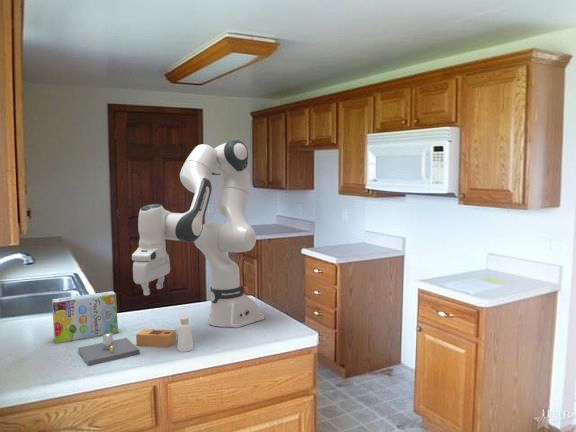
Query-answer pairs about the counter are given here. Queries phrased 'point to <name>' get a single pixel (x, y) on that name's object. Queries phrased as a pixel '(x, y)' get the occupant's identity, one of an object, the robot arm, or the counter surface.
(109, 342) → the steel post
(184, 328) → the pepper shaker
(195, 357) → the counter surface
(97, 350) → the base plate
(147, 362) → the counter surface
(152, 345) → the orange block with recesses
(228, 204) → the robot arm
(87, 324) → the snack box
